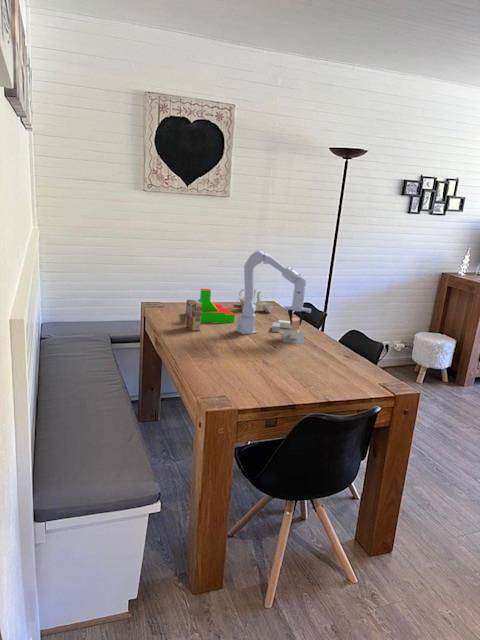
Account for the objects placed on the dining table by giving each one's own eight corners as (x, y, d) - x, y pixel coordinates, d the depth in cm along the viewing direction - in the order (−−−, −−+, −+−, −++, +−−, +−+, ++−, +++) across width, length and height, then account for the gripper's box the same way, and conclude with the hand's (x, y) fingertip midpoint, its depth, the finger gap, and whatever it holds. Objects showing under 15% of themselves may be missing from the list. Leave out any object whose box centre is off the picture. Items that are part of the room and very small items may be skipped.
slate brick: (279, 333, 259) (279, 326, 258) (271, 333, 259) (272, 326, 258) (279, 329, 266) (280, 322, 265) (272, 329, 267) (273, 322, 266)
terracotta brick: (298, 329, 247) (299, 322, 246) (291, 328, 248) (292, 321, 247) (298, 325, 255) (299, 318, 254) (291, 324, 255) (292, 317, 254)
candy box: (200, 330, 252) (202, 302, 248) (194, 331, 249) (195, 303, 245) (191, 326, 258) (193, 298, 254) (184, 327, 256) (186, 299, 252)
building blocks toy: (234, 324, 270) (237, 292, 265) (190, 322, 265) (192, 290, 261) (229, 315, 288) (231, 285, 283) (188, 314, 283) (189, 283, 278)
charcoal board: (304, 345, 242) (304, 344, 242) (282, 342, 243) (283, 341, 243) (303, 333, 263) (303, 331, 263) (283, 330, 264) (284, 329, 264)
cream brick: (297, 339, 249) (298, 332, 248) (290, 338, 249) (290, 331, 248) (297, 334, 257) (298, 327, 256) (290, 334, 257) (291, 327, 256)
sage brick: (291, 328, 271) (292, 321, 270) (291, 330, 267) (292, 323, 266) (277, 326, 272) (278, 320, 271) (277, 328, 268) (278, 321, 267)
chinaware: (276, 314, 305) (280, 288, 302) (264, 316, 291) (268, 289, 288) (239, 306, 319) (243, 281, 316) (226, 307, 304) (229, 281, 301)
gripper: (284, 299, 244) (281, 325, 248) (312, 302, 243) (309, 328, 247) (284, 296, 251) (281, 321, 255) (312, 299, 250) (308, 324, 253)
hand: (295, 324), depth 251 cm, fingers closed on terracotta brick, 4 cm apart
